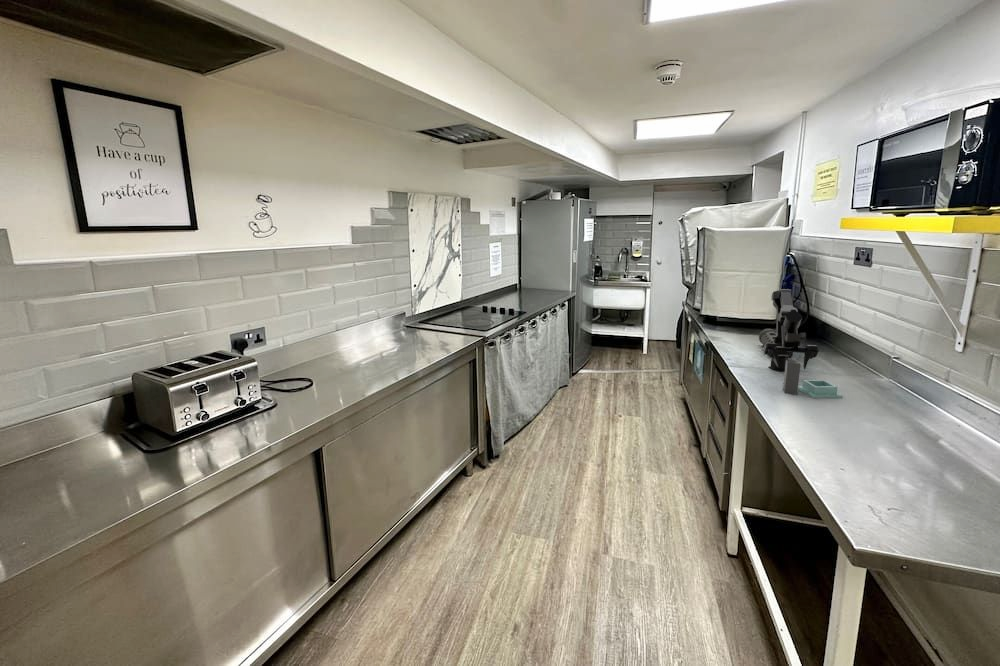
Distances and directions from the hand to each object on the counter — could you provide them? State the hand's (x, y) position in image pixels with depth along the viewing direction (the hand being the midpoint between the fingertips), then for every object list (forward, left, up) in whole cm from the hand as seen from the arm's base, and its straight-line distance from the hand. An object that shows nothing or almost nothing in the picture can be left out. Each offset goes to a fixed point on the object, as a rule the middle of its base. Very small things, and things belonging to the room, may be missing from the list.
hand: (791, 367), depth 183 cm
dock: (-8, +6, -10) cm, 14 cm away
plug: (+1, +2, -10) cm, 10 cm away
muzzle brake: (-39, -49, -10) cm, 63 cm away
